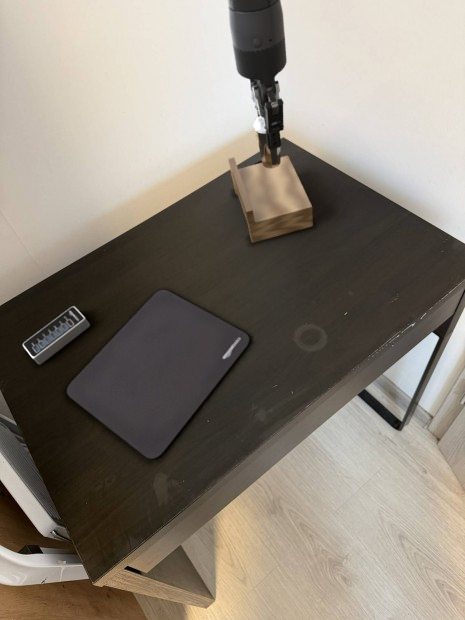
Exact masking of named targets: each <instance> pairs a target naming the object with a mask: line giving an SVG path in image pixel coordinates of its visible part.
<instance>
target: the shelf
mask: <svg viewBox="0 0 465 620" xmlns="http://www.w3.org/2000/svg"><path fill="white" fill-rule="evenodd" d="M227 160H228V166H229V170H230V175H231V180H232V184H233V189H234V192H235V195H237V197H238V200H239V202H240V205H241V208H242V211H243V214H244V217H245V221H246V223H247V227H248V232H249V237H250V240H251V243H252V244H253V243H257V242H260V241H264V240H267V239H268V240H269V239H272V238H275V237H278V236H282V235H285V234H291V233H294V232H296V231H297V232H298V231H301V230H304V229H307V228H311V227H314V218H313V217H314V215H313V206H312V203H311V201H310V199H309V197H308V195H307V193H306V190H305V188H304V186H303V184H302V182H301V180H300V178H299V176H298V174H297V172H296V170H295V167H294V165H293V163H292V161H291V159H290V157H289V155H285V156H281V163H280V164H279V166H278V167H275V168H273V169H271V168H266V167H264V166H263V163H262V162H259V163H256V164H252V165H248V166H245V167H240V168H238V164H237V162H236V159H235V157H230V158H227Z"/></svg>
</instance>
